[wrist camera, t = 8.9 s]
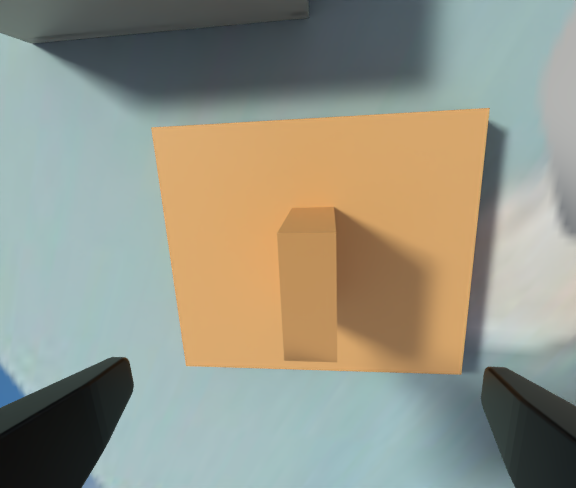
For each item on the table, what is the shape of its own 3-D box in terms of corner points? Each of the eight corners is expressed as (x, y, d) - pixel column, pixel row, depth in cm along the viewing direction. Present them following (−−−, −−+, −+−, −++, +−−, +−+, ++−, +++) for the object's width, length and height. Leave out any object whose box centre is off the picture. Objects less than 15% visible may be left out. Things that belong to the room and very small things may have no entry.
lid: (470, 112, 16) (570, 89, 10) (448, 352, 20) (509, 458, 13) (170, 129, 18) (76, 119, 11) (198, 346, 22) (140, 436, 15)
